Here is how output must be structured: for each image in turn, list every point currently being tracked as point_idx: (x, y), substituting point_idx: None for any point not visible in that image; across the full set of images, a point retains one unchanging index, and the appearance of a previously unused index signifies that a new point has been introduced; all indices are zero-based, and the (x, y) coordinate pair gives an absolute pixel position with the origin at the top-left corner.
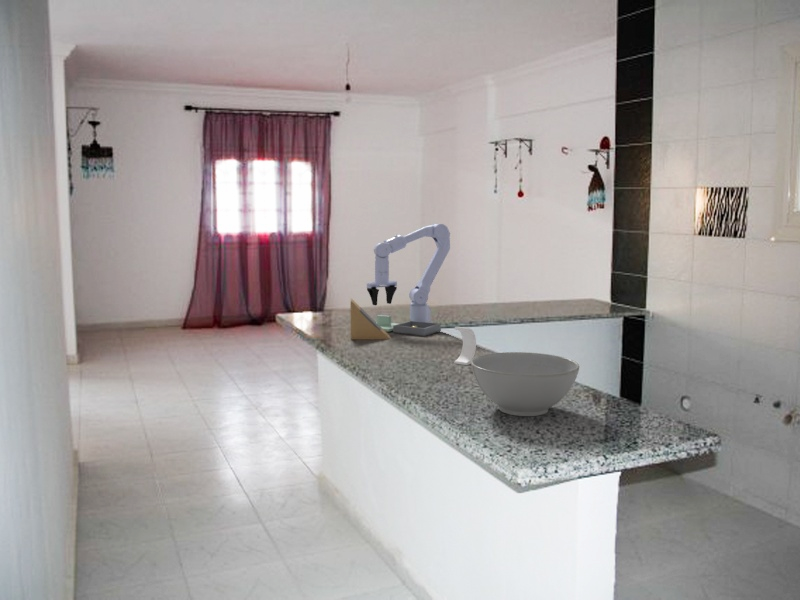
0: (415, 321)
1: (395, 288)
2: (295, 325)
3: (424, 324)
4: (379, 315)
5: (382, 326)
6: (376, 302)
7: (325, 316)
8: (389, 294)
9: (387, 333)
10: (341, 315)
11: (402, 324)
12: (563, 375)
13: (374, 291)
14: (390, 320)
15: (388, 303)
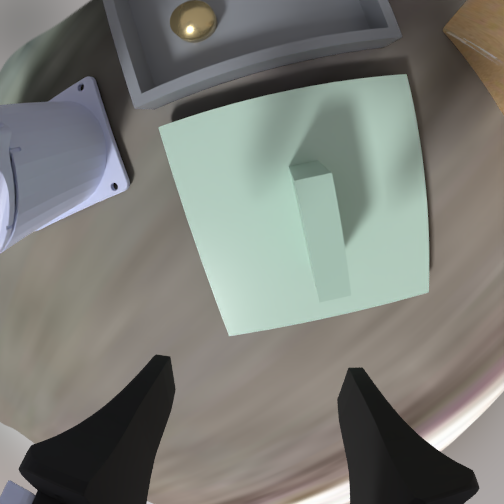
0: (127, 62)
1: (45, 460)
2: (445, 446)
3: (119, 3)
4: (343, 276)
5: (359, 185)
6: (367, 384)
7: (261, 498)
8: (139, 442)
9: (465, 27)
10: (210, 489)
11: (280, 47)
12: None
13: (467, 469)
14: (301, 171)
15: (172, 374)
